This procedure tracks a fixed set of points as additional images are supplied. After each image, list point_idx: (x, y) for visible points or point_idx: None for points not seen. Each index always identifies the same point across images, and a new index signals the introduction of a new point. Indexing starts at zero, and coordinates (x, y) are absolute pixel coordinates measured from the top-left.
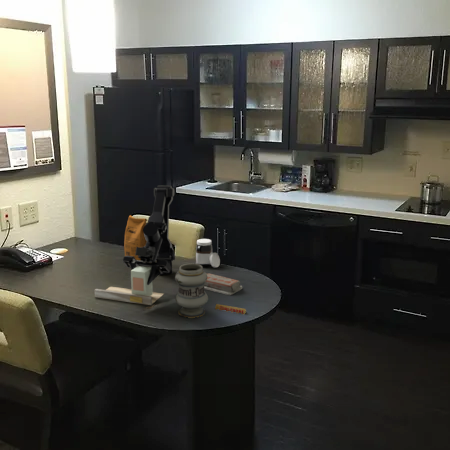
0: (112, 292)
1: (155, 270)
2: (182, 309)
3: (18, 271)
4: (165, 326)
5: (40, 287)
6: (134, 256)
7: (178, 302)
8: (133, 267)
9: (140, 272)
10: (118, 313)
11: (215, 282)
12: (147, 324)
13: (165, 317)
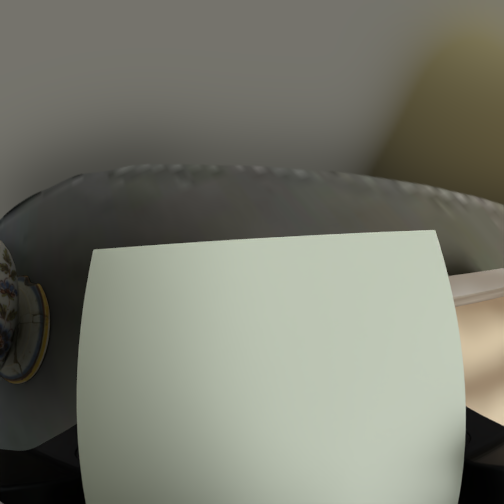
0: (453, 276)
1: (20, 456)
2: (29, 314)
3: None
4: (79, 188)
5: None
6: None
7: (2, 243)
8: (498, 452)
9: (193, 245)
10: (312, 206)
11: None
12: (139, 172)
13: (86, 250)
